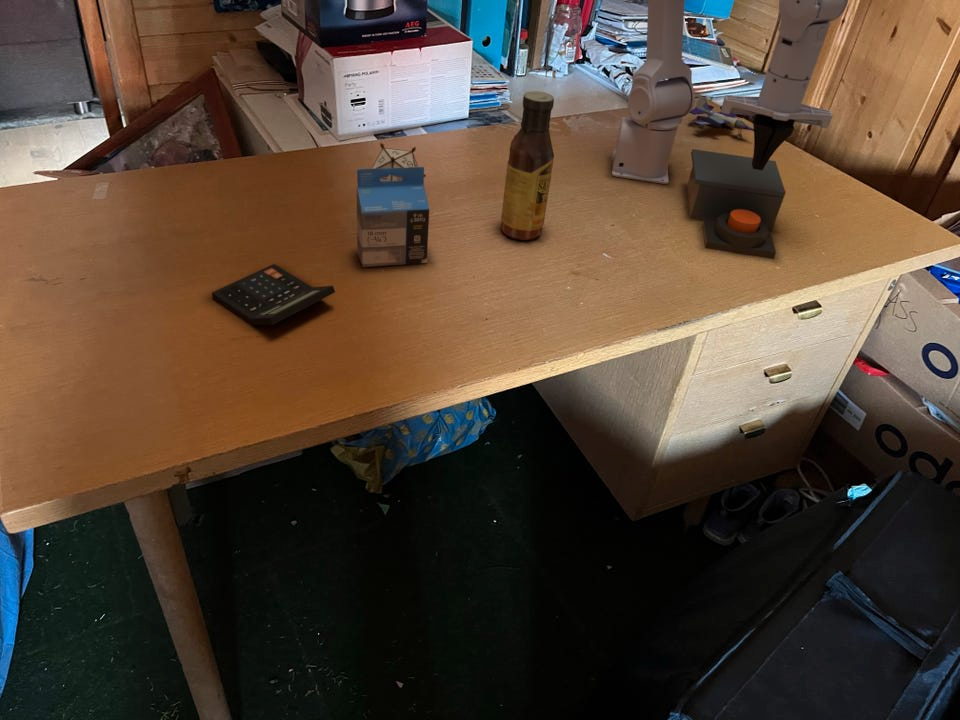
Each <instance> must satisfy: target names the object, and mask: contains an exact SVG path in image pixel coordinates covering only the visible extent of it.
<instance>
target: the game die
mask: <svg viewBox="0 0 960 720" xmlns="http://www.w3.org/2000/svg"><path fill="white" fill-rule="evenodd" d="M379 143H380V144H379V146H380V148H381V150H380V152H379V154H378V155H377V157H376V159H375V161H374V163H373V165H372V166H371V168H370V169H376V168H409V167H419V164H418V162H417V159H416V157H415V153H414V152H415V151H416V150H417V147H416V146H414V147H412V148H411V150H405V149H398V148H389V147H385V145H384V143H382V142H379ZM426 177H427V175H426V173H424V178H426ZM401 180H402V177H395V176H394V175H392V174H390V175H389V176H388V177H382V178H380V181H401Z"/></svg>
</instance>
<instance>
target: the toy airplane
mask: <svg viewBox="0 0 960 720" xmlns="http://www.w3.org/2000/svg"><path fill="white" fill-rule="evenodd" d="M721 107H722V105H720V106H719V109H720V110H718V111H712V110H713V109H715V106H713V105H710V104H709V103H708V101H707V98H706V97H705V96H703V95H698V99H697V102H696V106H695V108H694V107H693V108H692V110H691V111H690V113H689V114H692V115H694V116H696V120H694V122H693V124H695V125H698V127H699V128H700V129H703V128H704V127H705V126H706V127H709V128H713V129H717V130H720V129H721V130H728V131H735V130H734V129H738V130H737V135H736V138H737V139H738V140H741V139H742V138H743V134H742V130H746V131H752V132H754V127H751V126H750V125H749V123H748V122H747V121H746V120H745V119H743V118H746V115H743V114H736V113H730V114H725V113H722V109H721ZM703 114H705V115H706V116H704V115H703ZM730 126H731V127H730ZM733 128H734V129H733Z"/></svg>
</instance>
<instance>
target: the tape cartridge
mask: <svg viewBox="0 0 960 720" xmlns="http://www.w3.org/2000/svg"><path fill="white" fill-rule="evenodd" d="M390 174H392V175H394V176H395V177H402V180H401V181H380V178H382V177H388V176H389V175H390ZM424 174H425V166H418V167H409V168H376V169H371V168H357V170H356V176H357V178H356V179H357V187H356V246H357V247H356V248H357V249H356V250H357V251H356V252H357V257H358V258H359V261H360V264H361V267H362V268H374V267H385V266H401V265H414V264H426V263H427V262H428V249H429V247H428V245H429V226H430V205H429V201H428V197H427V193H426V188H425V177H424Z"/></svg>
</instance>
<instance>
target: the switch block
mask: <svg viewBox="0 0 960 720" xmlns="http://www.w3.org/2000/svg"><path fill="white" fill-rule="evenodd" d="M729 216H730V213H724V214H722V215H721V216H720V217H718V218H717V221H712V220H706V219H704V221H702V225H701V228H702V235H703V244H704V249H709V250H715V251H721V252H726V253H733V254H740V255H747V256H752V257H758V258H765V259H771V260H774V259H775V257H776V253H777V251H776V246H775V243H774V240H773V239H774V238H773V236H772V231H770V229H768V228H767V225H766V224H764V223H763V222H762V221H760V224H759V227H758V230H757V232H756V233H749V234H748V233H742V232H738V231H736V230H733V229H731V228H730V227H729V226H728V225H727V222H728V219H729Z"/></svg>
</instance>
